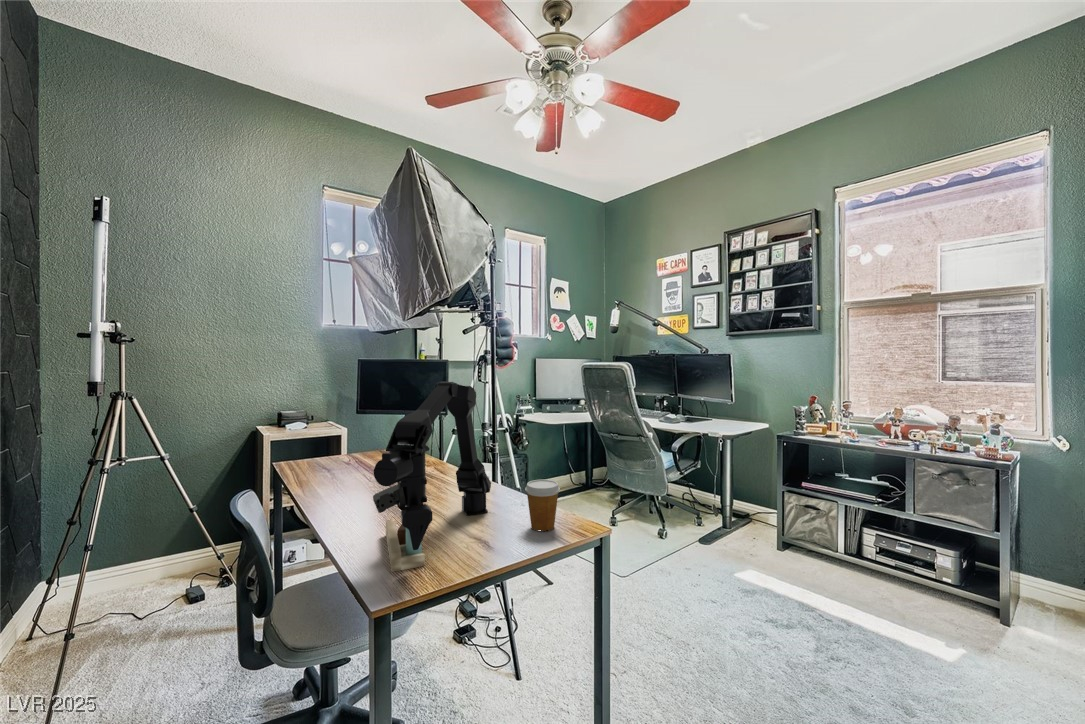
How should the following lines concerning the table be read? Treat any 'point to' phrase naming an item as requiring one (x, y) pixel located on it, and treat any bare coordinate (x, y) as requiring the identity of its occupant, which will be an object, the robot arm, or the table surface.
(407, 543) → the dowel
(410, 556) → the backstop fence
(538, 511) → the disposable coffee cup
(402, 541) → the brick
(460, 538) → the table surface
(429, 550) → the table surface
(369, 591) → the table surface
